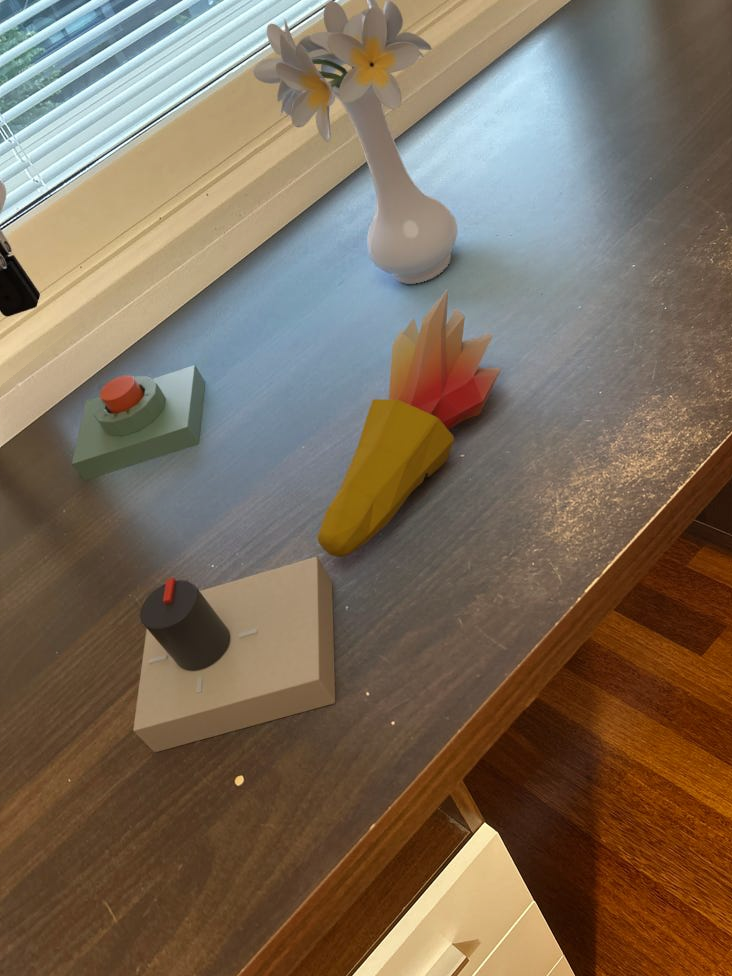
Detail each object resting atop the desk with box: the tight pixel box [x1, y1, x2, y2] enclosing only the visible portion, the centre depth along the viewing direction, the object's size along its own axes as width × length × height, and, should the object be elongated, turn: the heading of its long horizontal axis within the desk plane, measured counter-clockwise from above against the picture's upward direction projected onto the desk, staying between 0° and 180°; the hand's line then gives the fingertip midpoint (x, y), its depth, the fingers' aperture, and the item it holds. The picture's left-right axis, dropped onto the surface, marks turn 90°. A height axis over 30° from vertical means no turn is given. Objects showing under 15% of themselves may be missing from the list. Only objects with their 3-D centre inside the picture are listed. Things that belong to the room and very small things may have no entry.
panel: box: [132, 556, 336, 753], centre depth 75 cm, size 14×12×3 cm
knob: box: [139, 577, 230, 671], centre depth 73 cm, size 4×4×5 cm
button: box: [99, 374, 144, 414], centre depth 97 cm, size 4×4×2 cm
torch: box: [317, 288, 503, 558], centre depth 82 cm, size 8×8×25 cm
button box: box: [71, 364, 206, 481], centre depth 99 cm, size 12×10×4 cm
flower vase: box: [252, 0, 459, 285], centre depth 95 cm, size 13×18×25 cm
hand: (23, 306), depth 87 cm, fingers closed
